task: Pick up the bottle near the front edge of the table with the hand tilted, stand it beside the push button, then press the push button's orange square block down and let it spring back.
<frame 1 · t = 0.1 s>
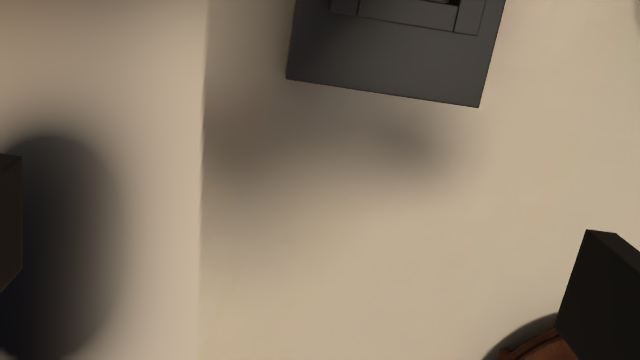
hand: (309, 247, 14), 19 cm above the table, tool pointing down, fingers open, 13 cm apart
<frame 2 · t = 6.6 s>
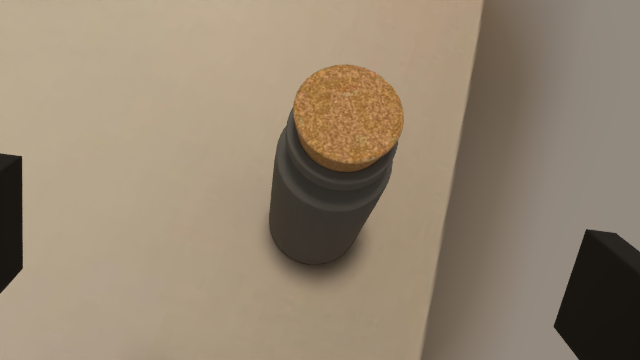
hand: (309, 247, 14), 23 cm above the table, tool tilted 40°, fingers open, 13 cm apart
bottle: (313, 222, 38), on the table
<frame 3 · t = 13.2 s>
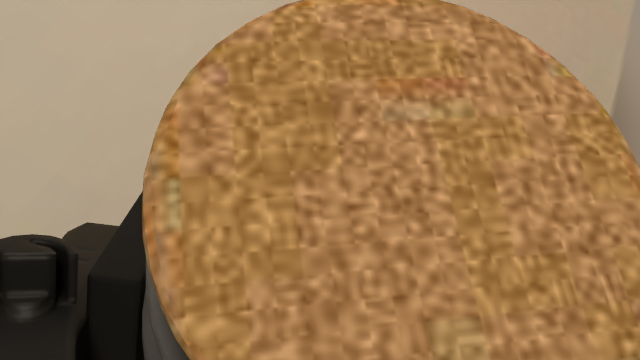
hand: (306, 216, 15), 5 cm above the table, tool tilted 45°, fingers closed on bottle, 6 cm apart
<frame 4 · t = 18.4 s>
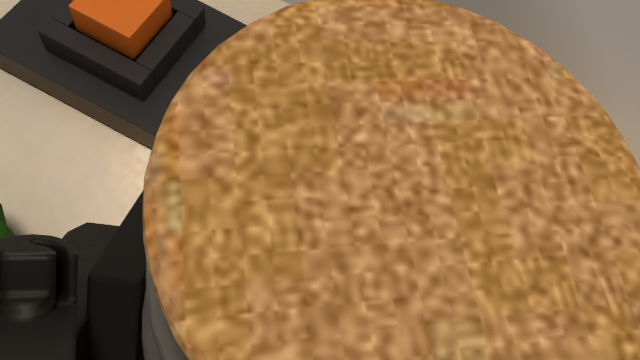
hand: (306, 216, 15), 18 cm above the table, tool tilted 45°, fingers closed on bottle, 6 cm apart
orange square block: (122, 11, 34), point 5 cm above the table, slide at 0.1 cm
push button: (133, 59, 38), on the table
when the fingers open (5 cm above the table, at t = 23.5 s): bottle stays where it is, on the table.
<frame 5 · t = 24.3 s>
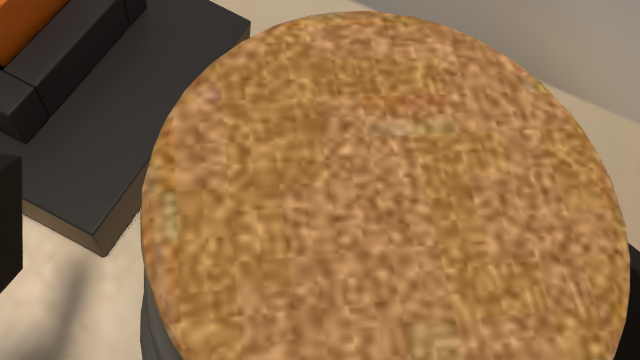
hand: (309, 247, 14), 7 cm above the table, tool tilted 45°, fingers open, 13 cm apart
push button: (25, 64, 22), on the table
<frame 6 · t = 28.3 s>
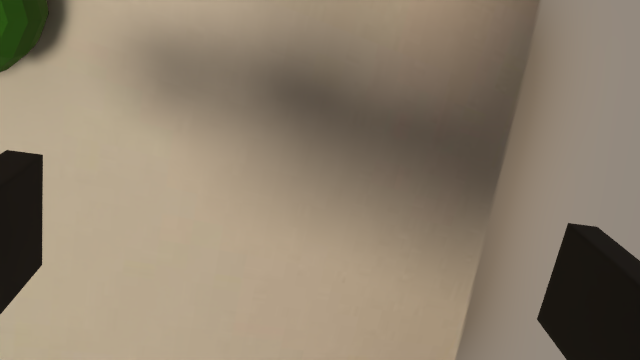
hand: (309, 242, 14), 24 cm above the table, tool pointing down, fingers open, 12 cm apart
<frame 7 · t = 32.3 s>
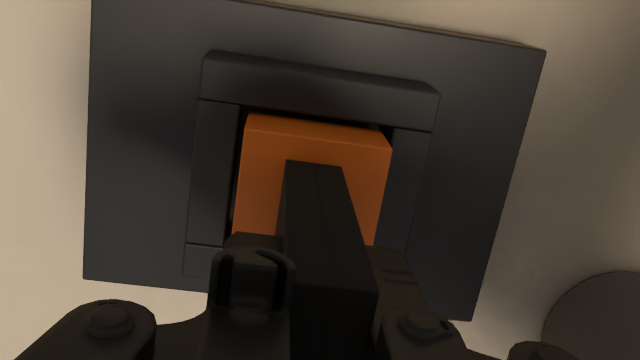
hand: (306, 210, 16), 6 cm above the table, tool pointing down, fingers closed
orange square block: (307, 195, 17), point 5 cm above the table, slide at 0.0 cm, touching gripper
bottle: (605, 328, 25), on the table
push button: (302, 151, 21), on the table
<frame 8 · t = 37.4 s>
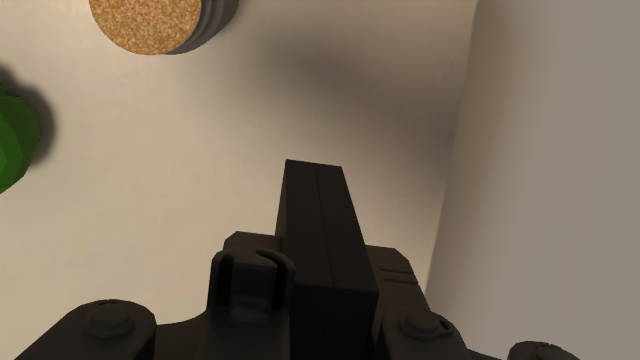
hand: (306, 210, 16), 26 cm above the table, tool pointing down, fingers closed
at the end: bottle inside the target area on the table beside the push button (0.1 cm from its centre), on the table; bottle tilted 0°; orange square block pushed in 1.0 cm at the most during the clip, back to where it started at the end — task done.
